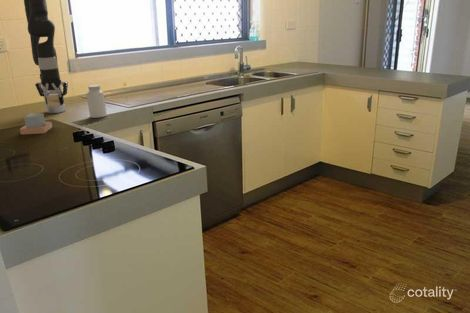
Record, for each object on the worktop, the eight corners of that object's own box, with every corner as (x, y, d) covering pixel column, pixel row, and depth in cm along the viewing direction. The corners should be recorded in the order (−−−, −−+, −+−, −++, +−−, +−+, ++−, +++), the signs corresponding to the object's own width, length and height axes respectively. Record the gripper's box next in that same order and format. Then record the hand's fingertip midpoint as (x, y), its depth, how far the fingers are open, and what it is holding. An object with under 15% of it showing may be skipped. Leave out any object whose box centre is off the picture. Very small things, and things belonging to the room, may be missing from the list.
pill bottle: (108, 113, 209) (104, 83, 204) (104, 117, 202) (99, 87, 196) (92, 114, 209) (88, 84, 204) (87, 118, 201) (83, 87, 196)
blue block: (31, 123, 186) (29, 113, 184) (45, 123, 186) (43, 113, 185) (26, 127, 180) (24, 117, 179) (40, 126, 181) (38, 116, 179)
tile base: (29, 128, 189) (28, 122, 188) (52, 126, 189) (51, 121, 188) (20, 134, 179) (19, 129, 178) (44, 133, 180) (43, 127, 179)
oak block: (52, 104, 193) (50, 94, 191) (63, 104, 193) (61, 93, 191) (48, 107, 188) (46, 96, 186) (59, 107, 188) (57, 96, 186)
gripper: (67, 65, 188) (73, 102, 194) (35, 66, 187) (42, 103, 193) (62, 68, 181) (69, 106, 187) (28, 69, 180) (36, 107, 186)
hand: (55, 104), depth 190 cm, fingers closed on oak block, 5 cm apart
